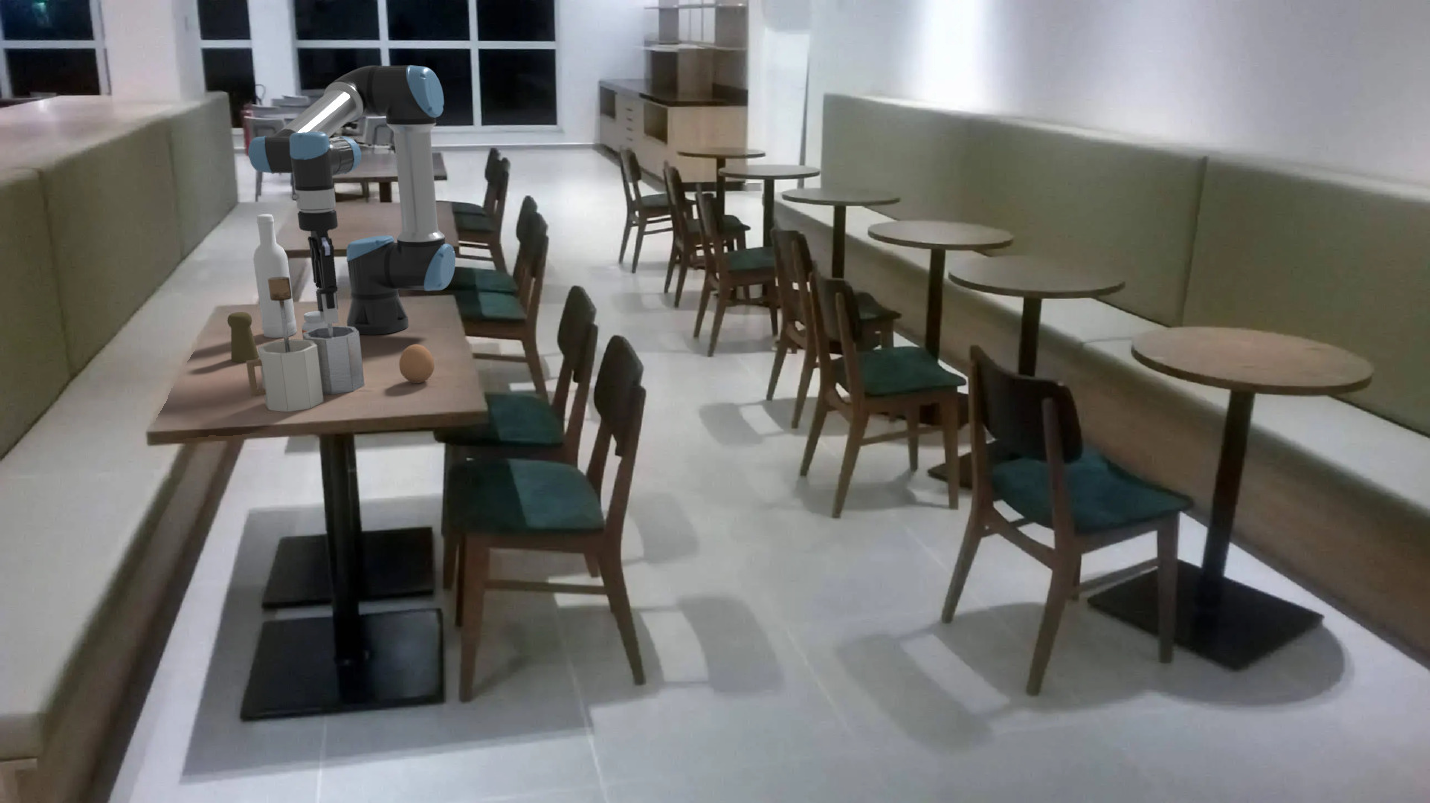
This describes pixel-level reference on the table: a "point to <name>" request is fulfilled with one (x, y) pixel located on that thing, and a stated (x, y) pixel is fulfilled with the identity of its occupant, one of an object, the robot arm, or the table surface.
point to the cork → (242, 338)
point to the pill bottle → (313, 321)
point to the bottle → (268, 265)
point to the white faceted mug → (287, 375)
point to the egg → (416, 364)
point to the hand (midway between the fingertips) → (329, 320)
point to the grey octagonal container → (338, 358)
